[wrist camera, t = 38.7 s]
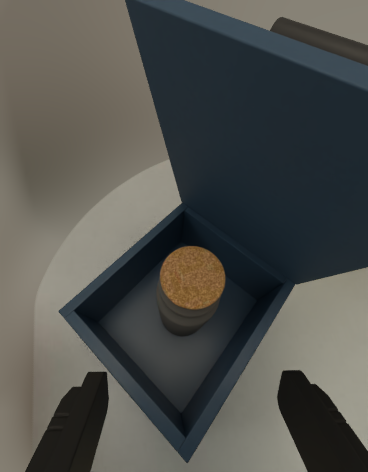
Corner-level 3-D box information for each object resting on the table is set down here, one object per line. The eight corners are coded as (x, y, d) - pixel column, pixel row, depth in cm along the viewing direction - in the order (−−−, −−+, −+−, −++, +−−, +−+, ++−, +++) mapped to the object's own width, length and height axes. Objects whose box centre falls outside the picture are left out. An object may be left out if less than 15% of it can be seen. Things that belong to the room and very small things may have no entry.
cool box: (181, 428, 23) (187, 464, 15) (89, 324, 28) (58, 311, 20) (264, 301, 30) (296, 282, 23) (180, 236, 35) (183, 201, 27)
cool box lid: (650, 199, 4) (711, 44, 5) (122, -6, 9) (202, -71, 10) (296, 284, 22) (323, 246, 23) (181, 201, 27) (207, 172, 28)
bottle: (207, 334, 27) (241, 314, 14) (161, 338, 26) (152, 321, 13) (201, 289, 30) (225, 236, 17) (159, 292, 29) (151, 240, 16)
